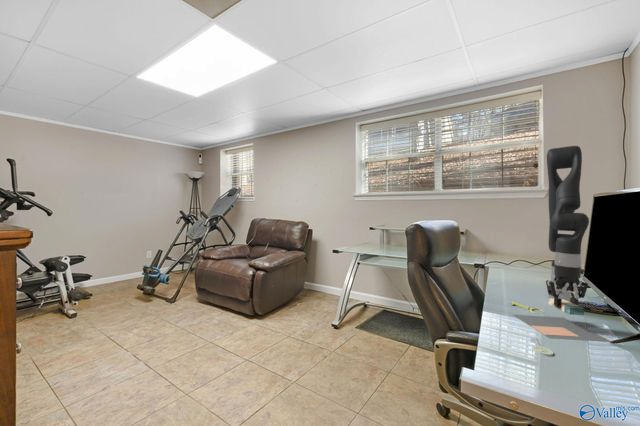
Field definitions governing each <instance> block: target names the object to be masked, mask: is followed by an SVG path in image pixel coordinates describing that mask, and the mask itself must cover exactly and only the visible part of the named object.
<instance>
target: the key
mask: <svg viewBox="0 0 640 426" xmlns="http://www.w3.org/2000/svg"><path fill="white" fill-rule="evenodd" d="M510 305H512V306H516V307H520V308H523V309H526V310H529V312H531V313H533V314H537V315H538V314H539V315H541V313H539V312H535V311H534V310H539V311H541V312H543V313H544V312H545V310H544V309H542V308H538V307H530V306H526V305H523V304H520V303H517V302H515V301H511V302H510Z"/></svg>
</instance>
